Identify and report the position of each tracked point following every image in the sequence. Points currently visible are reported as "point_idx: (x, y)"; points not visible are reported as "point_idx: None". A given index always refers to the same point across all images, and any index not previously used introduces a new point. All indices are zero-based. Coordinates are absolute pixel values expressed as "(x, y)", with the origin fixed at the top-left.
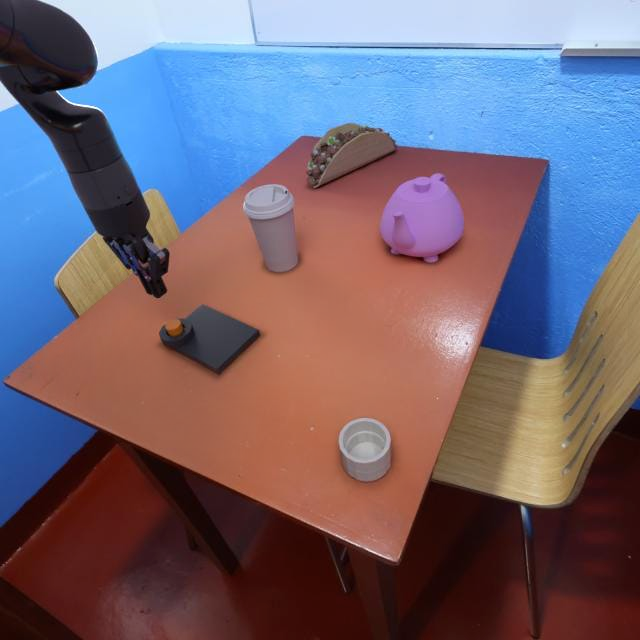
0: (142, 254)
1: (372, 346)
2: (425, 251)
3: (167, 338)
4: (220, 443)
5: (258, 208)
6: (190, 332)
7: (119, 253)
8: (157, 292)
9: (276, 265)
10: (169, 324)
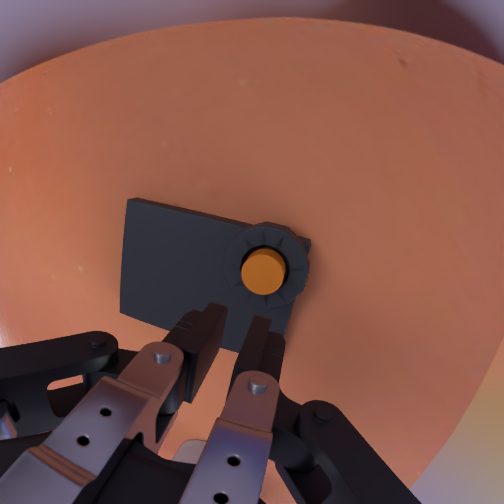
0: (11, 438)
1: (18, 306)
2: (39, 433)
3: (265, 235)
4: (75, 90)
5: None
6: (224, 271)
7: (346, 487)
8: (193, 318)
9: (191, 449)
10: (271, 273)
